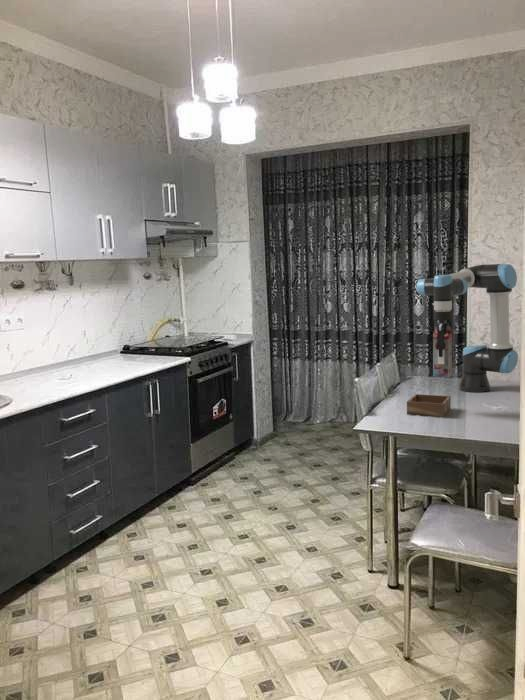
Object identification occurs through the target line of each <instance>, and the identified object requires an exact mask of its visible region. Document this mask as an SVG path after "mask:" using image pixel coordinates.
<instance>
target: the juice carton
mask: <svg viewBox="0 0 525 700" xmlns="http://www.w3.org/2000/svg"><path fill="white" fill-rule="evenodd" d="M436 348H437V326H434V331H433V334H432V365H433V366H432V377H433V378H447V379H448V378H450V377H452V376H453V333H452V331H451V326H448V327H447V328H446V334H444V364H438V349H436Z"/></svg>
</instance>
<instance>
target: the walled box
mask: <svg viewBox="0 0 525 700" xmlns="http://www.w3.org/2000/svg"><path fill="white" fill-rule="evenodd" d="M451 402H452V401H451V396H450V395H449V396H447V395H438V394H437V395H434V394H422V393H421V394H420V393H414V395H412V396H411V398H409V399H408V400H407V401H406V415H407V414H411V415H410V416H416V415H420V416H419V417H428V416H434V417H433V418H440V417H444V416H445V417H446V415H447V414H448V413H449V412H450V411H451V408H452V407H451ZM435 416H436V417H435ZM445 417H444V418H445Z"/></svg>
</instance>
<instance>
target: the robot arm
mask: <svg viewBox="0 0 525 700" xmlns="http://www.w3.org/2000/svg"><path fill="white" fill-rule="evenodd" d="M517 281H518V276H517V272H516V270H515V268H514V266H513V265H511V264H507V263H494V264H478V265H474V266H470V267H467V268H463V269H460V270H459V271H458V272H454V273H449V274H441V275H440V274H439V275H435V276H434V277H431V278H422V279H421V278H420V279H419V280H418V281H417V283H416V292H417V293H418V295H420V296H433V302H432V306H433V310H434V311H433V320H435V321H438V324H436V325H437V326H436V327H437V348H436V349H438V364H444V334H446V328H447V327H449V322H447V321H451V320H452V318H453V312H452V310H453V308H452V307H453V297H455V296H461V295H464V294H466V293H467V291H468V289H469V288H477V289H486V293H487V295H488V296H489V316H490V317H489V320H490V321H489V323H490V344H488V345H486V344H477V345H476V344H475V345H469V346H466V347H465V346H464V348H463V350H462V376H461V379H460V382H459V385H458V386H459V387H458V388H459V391H462V392H467V393H485V392H484V391H486V392H488V390H489V391H491V384H490V382H489V379H488V375H487V372H491V373H499V374H510V373H512V372H513V371H514V370H515V369H516V367H517V365H518V360H519V355H518V354H519V353H518V351H517V350H514V349H513V348H514V346H513V344H511V343H510V299H509V295H510V294H511V293H512V291H513V288H515V287H516V286H517Z"/></svg>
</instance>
